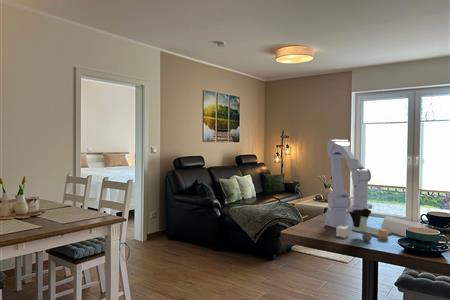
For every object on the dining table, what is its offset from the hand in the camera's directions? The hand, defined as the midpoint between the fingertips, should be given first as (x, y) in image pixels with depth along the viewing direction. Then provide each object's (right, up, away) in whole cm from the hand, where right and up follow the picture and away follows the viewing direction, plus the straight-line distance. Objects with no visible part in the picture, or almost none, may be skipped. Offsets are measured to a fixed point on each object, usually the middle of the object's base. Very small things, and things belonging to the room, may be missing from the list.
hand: (359, 226), depth 144 cm
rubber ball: (+1, -5, -5) cm, 8 cm away
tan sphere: (+10, -6, -1) cm, 11 cm away
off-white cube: (-7, -5, +3) cm, 9 cm away
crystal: (+23, -6, +6) cm, 25 cm away
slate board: (+10, -5, +9) cm, 14 cm away
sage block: (0, -2, 0) cm, 2 cm away
